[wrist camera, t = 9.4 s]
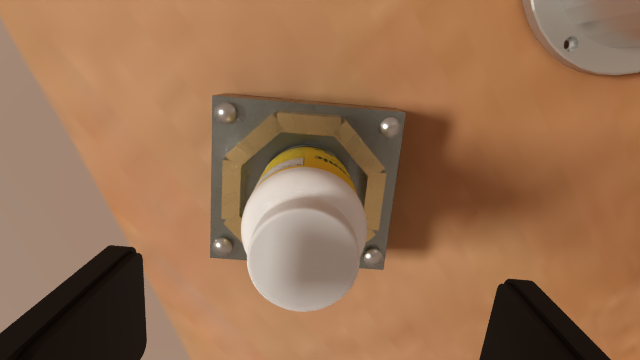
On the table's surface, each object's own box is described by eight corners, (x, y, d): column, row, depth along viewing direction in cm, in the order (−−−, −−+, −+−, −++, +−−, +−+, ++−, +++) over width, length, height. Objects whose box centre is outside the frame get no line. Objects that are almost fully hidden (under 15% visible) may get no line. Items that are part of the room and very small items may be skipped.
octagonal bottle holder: (394, 108, 24) (413, 114, 20) (375, 249, 27) (388, 282, 22) (224, 93, 24) (204, 96, 19) (221, 238, 26) (203, 270, 22)
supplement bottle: (366, 205, 23) (405, 293, 13) (288, 243, 23) (272, 354, 14) (325, 126, 22) (336, 161, 12) (244, 168, 22) (193, 234, 13)
